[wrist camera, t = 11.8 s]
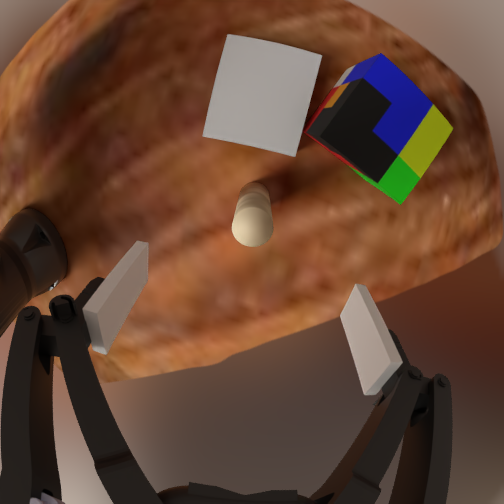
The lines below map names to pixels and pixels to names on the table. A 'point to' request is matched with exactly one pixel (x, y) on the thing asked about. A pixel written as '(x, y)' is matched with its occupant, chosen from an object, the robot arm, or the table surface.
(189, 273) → the table surface
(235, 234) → the dowel
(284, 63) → the slab
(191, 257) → the table surface
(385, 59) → the puzzle toy
